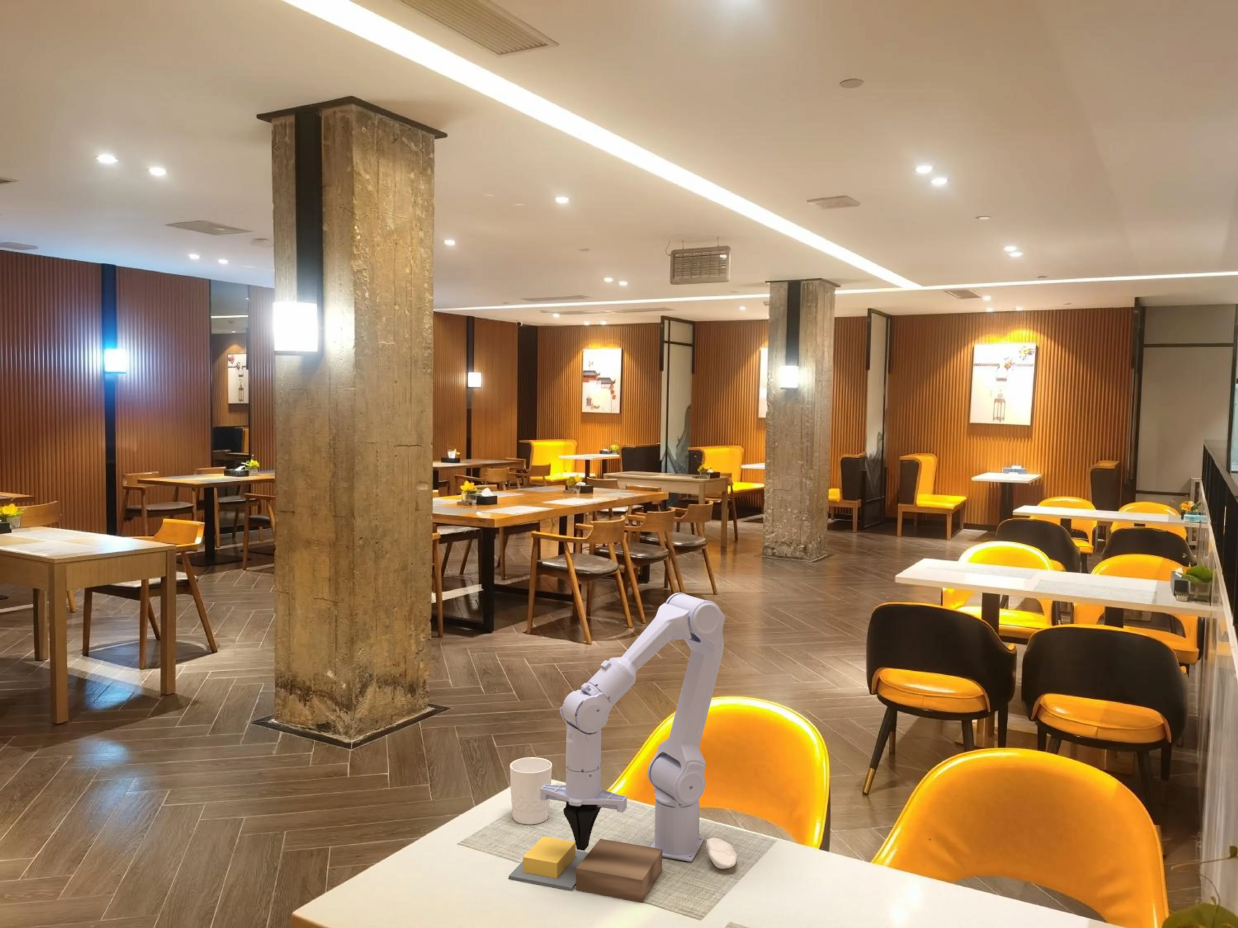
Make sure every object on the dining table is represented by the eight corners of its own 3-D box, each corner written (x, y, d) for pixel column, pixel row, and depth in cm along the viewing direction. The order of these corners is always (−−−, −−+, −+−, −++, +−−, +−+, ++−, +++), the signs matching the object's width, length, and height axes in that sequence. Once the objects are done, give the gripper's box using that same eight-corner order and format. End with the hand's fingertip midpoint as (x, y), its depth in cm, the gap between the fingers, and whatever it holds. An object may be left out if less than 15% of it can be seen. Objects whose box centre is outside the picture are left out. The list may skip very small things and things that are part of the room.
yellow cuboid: (575, 841, 151) (575, 856, 152) (543, 836, 153) (543, 850, 153) (556, 862, 144) (556, 878, 144) (523, 856, 146) (523, 871, 146)
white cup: (506, 810, 171) (506, 759, 170) (546, 806, 173) (546, 755, 173) (513, 828, 163) (514, 774, 163) (555, 823, 165) (556, 769, 165)
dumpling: (704, 855, 153) (704, 832, 153) (734, 856, 153) (735, 833, 153) (708, 875, 146) (708, 851, 146) (740, 876, 146) (740, 852, 146)
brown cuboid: (600, 858, 152) (600, 838, 152) (662, 869, 148) (662, 848, 148) (575, 889, 141) (576, 867, 141) (642, 902, 138) (642, 880, 138)
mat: (539, 846, 156) (539, 843, 156) (598, 856, 152) (598, 854, 152) (508, 878, 145) (508, 875, 145) (571, 890, 141) (571, 887, 141)
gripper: (532, 768, 145) (532, 850, 145) (617, 780, 140) (616, 865, 141) (550, 753, 152) (549, 832, 152) (631, 764, 147) (630, 846, 147)
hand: (582, 847), depth 147 cm, fingers closed
